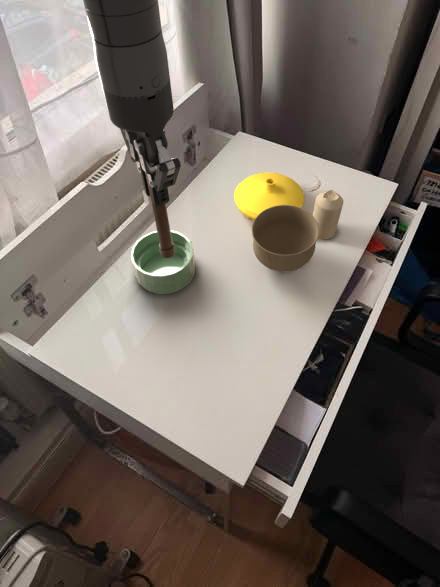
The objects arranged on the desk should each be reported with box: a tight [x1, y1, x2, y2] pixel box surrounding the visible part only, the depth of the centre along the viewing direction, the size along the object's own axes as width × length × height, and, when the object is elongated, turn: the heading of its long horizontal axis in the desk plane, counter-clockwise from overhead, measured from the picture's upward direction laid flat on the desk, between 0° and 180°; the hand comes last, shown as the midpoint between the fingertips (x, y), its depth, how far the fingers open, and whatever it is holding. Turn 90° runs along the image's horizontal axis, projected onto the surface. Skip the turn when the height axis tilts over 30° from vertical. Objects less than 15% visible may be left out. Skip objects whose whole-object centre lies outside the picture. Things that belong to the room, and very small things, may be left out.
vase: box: [233, 171, 305, 221], centre depth 97 cm, size 16×16×7 cm
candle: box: [312, 189, 344, 240], centre depth 90 cm, size 6×6×10 cm
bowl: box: [251, 205, 319, 273], centre depth 85 cm, size 13×13×10 cm
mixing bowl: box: [130, 229, 196, 295], centre depth 86 cm, size 12×12×6 cm
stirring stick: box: [145, 171, 175, 258], centre depth 64 cm, size 2×2×16 cm
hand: (157, 197), depth 61 cm, fingers closed on stirring stick, 2 cm apart
